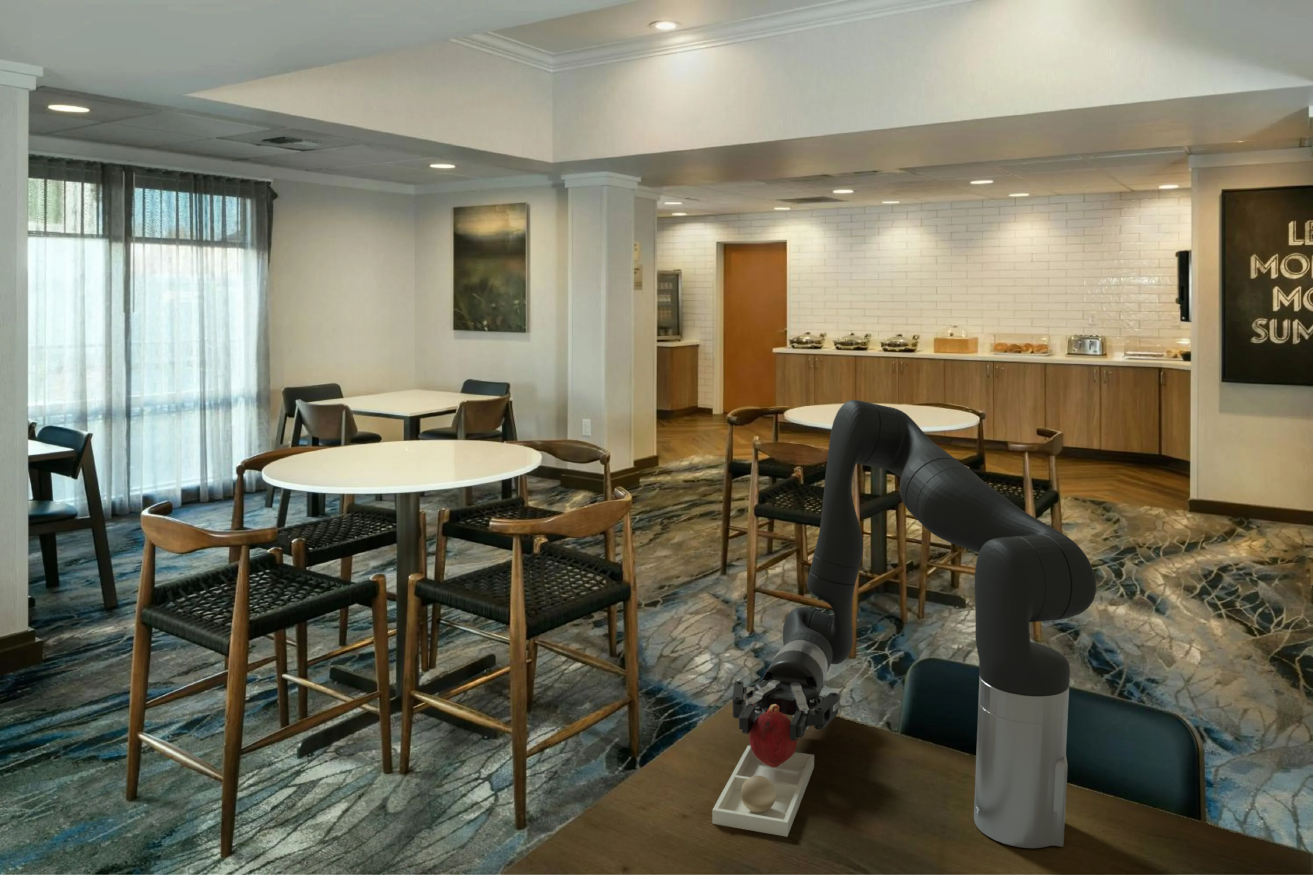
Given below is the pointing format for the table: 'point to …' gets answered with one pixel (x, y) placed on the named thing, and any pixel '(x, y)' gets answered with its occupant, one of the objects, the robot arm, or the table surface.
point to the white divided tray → (788, 788)
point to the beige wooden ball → (758, 794)
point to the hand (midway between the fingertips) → (769, 729)
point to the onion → (772, 737)
